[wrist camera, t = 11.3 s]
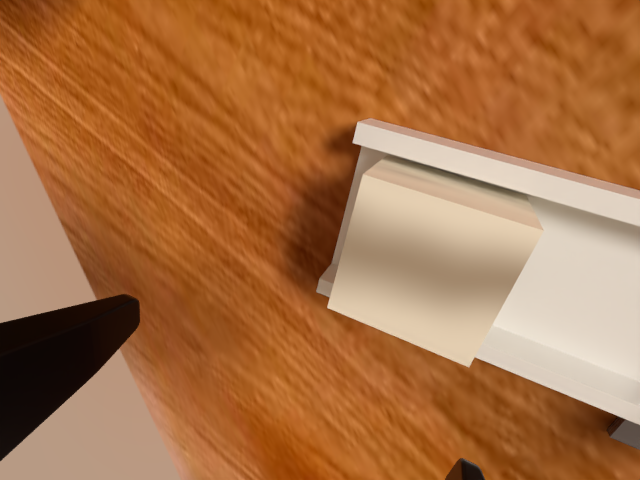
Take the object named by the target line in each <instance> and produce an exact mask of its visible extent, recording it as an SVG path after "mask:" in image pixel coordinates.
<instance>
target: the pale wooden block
mask: <svg viewBox="0 0 640 480" xmlns="http://www.w3.org/2000/svg"><path fill="white" fill-rule="evenodd" d="M543 231H544V230H543V228H542V226H541V224H540V222H539V220H538V218H537V216H536V214H535V212H534V210H533V208H532V206H531V204H530V202H529V200H528V198H527V196H526V195H523V194H520V193H516V192H513V191H510V190H506V189H503V188H499V187H496V186H492V185H489V184H486V183H482V182H479V181H475V180H472V179H468V178H465V177H462V176H458V175H455V174H451V173H448V172H445V171H441V170H438V169H434V168H431V167H427V166H424V165H421V164H417V163H414V162H410V161H407V160H403V159H400V158H397V157H393V156H390V155H387V156H386V157H384V158H383V159H382V160H381V161H379V162H378V163H377V164H375V165H374V166H373V167H372V168H370V169H369V170H368V171H366V172H365V173H364V174H363V176H362V179H361V183H360V187H359V191H358V194H357V198H356V202H355V206H354V209H353V213H352V217H351V221H350V224H349V228H348V232H347V236H346V239H345V243H344V247H343V251H342V254H341V258H340V262H339V266H338V269H337V273H336V277H335V280H334V284H333V288H332V292H331V295H330V299H329V303H328V307H327V308H329V309H331V310H334V311H336V312H338V313H341V314H343V315H346V316H348V317H350V318H353V319H355V320H357V321H360V322H362V323H365V324H367V325H369V326H372V327H374V328H377V329H379V330H381V331H384V332H386V333H388V334H391V335H393V336H396V337H398V338H400V339H403V340H405V341H408V342H410V343H412V344H415V345H417V346H419V347H422V348H424V349H427V350H429V351H431V352H434V353H436V354H438V355H441V356H443V357H446V358H448V359H450V360H453V361H455V362H458V363H460V364H462V365H465V366H467V367H469V366H470V365H471V363H472V361H473V359H474V357H475V355H476V354H477V352H478V350H479V348H480V346H481V345H482V343H483V341H484V339H485V337H486V335H487V334H488V332H489V330H490V328H491V326H492V324H493V323H494V321H495V319H496V317H497V315H498V314H499V312H500V310H501V308H502V306H503V304H504V303H505V301H506V299H507V297H508V295H509V293H510V292H511V290H512V288H513V286H514V284H515V283H516V281H517V279H518V277H519V275H520V273H521V272H522V270H523V268H524V266H525V264H526V262H527V261H528V259H529V257H530V255H531V253H532V252H533V250H534V248H535V246H536V244H537V242H538V241H539V239H540V237H541V235H542V233H543Z"/></svg>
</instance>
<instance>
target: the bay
mask: <svg viewBox="0 0 640 480" xmlns="http://www.w3.org/2000/svg"><path fill="white" fill-rule="evenodd" d="M353 143H354V144H358V145H361V146H362V147H361V151H360V155H359V158H358V162H357V166H356V170H355V174H354V178H353V182H352V186H351V190H350V194H349V197H348V201H347V205H346V209H345V213H344V217H343V221H342V225H341V229H340V233H339V237H338V240H337V244H336V248H335V252H334V256H333V260H332V263H331V265H330V266H329V267H328V268H327V270H326V271H325V272H324V273H323V275H322V276H321V277H320V278H319V283H318V287H317V291H316V292H318V293H320V294H322V295H325V296H327V297H330V295H331V292H332V288H333V284H334V280H335V277H336V273H337V269H338V266H339V262H340V258H341V254H342V251H343V247H344V243H345V239H346V236H347V232H348V228H349V224H350V221H351V217H352V213H353V209H354V206H355V202H356V198H357V194H358V191H359V187H360V183H361V179H362V176H363V174H364V173H365V172H366V171H368V170H369V169H370V168H372V167H373V166H374V165H375V164H377V163H378V162H379V161H381V160H382V159H383V158H384V157H386V156H387V155H390V156H393V157H397V158H400V159H403V160H407V161H410V162H414V163H417V164H421V165H424V166H427V167H431V168H434V169H438V170H441V171H445V172H448V173H451V174H455V175H458V176H462V177H465V178H468V179H472V180H475V181H479V182H482V183H486V184H489V185H492V186H496V187H499V188H503V189H506V190H510V191H513V192H516V193H520V194H523V195H526V196H527V198H528V200H529V202H530V204H531V206H532V208H533V210H534V212H535V214H536V216H537V218H538V220H539V222H540V224H541V226H542V228H543V230H544V231H543V233H542V235H541V237H540V239H539V241H538V242H537V244H536V246H535V248H534V250H533V252H532V253H531V255H530V257H529V259H528V261H527V262H526V264H525V266H524V268H523V270H522V272H521V273H520V275H519V277H518V279H517V281H516V283H515V284H514V286H513V288H512V290H511V292H510V293H509V295H508V297H507V299H506V301H505V303H504V304H503V306H502V308H501V310H500V312H499V314H498V315H497V317H496V319H495V321H494V323H493V324H492V326H491V328H490V330H489V332H488V334H487V335H486V337H485V339H484V341H483V343H482V345H481V346H480V348H479V350H478V352H477V354H476V355H475V357H476V358H478V359H480V360H483V361H485V362H488V363H490V364H493V365H495V366H497V367H500V368H502V369H505V370H507V371H510V372H512V373H515V374H517V375H519V376H522V377H524V378H527V379H529V380H532V381H534V382H536V383H539V384H541V385H544V386H546V387H549V388H551V389H553V390H556V391H558V392H561V393H563V394H566V395H568V396H570V397H573V398H575V399H578V400H580V401H583V402H585V403H587V404H590V405H592V406H595V407H597V408H600V409H602V410H605V411H607V412H609V413H612V414H614V415H617V416H619V417H622V418H624V419H626V420H629V421H631V422H634V423H636V424H639V425H640V191H639V190H636V189H632V188H628V187H624V186H621V185H617V184H613V183H610V182H606V181H602V180H598V179H595V178H591V177H587V176H584V175H580V174H576V173H572V172H569V171H565V170H561V169H558V168H554V167H550V166H546V165H543V164H539V163H535V162H532V161H528V160H524V159H520V158H517V157H513V156H509V155H506V154H502V153H498V152H494V151H491V150H487V149H483V148H480V147H476V146H472V145H468V144H465V143H461V142H457V141H454V140H450V139H446V138H442V137H439V136H435V135H431V134H428V133H424V132H420V131H416V130H413V129H409V128H405V127H402V126H398V125H394V124H390V123H387V122H383V121H379V120H376V119H372V118H369V119H366V120H363V121H359V122H357V126H356V131H355V135H354V139H353Z"/></svg>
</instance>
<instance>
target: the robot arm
mask: <svg viewBox="0 0 640 480" xmlns="http://www.w3.org/2000/svg"><path fill="white" fill-rule="evenodd" d="M139 323H140V305H139V301H138V300H137V299H136V298H134V297H132V296H130V295H127V294H122V295H117V296H113V297H109V298H105V299H100V300H96V301H92V302H88V303H84V304H79V305H75V306H71V307H67V308H62V309H58V310H54V311H50V312H45V313H41V314H37V315H33V316H28V317H24V318H20V319H16V320H11V321H8V322H3V323H0V461H1V460H2V459H3V458H4V457H5V456H7V455H8V454H9V453H10V452H11V451H12V450H13V449H14V448H15V447H16V446H17V445H19V444H20V443H21V442H22V441H23V440H24V439H25V438H26V437H27V436H28V435H29V434H31V433H32V432H33V431H34V430H35V429H36V428H37V427H38V426H39V425H40V424H41V423H43V422H44V421H45V420H46V419H47V418H48V417H49V416H50V415H51V414H52V413H53V412H55V411H56V410H57V409H58V408H59V407H60V406H61V405H62V404H63V403H64V402H65V401H66V400H68V399H69V398H70V397H71V396H72V395H73V394H74V393H75V392H76V391H77V390H79V389H80V388H81V387H82V386H83V385H84V384H85V383H86V382H87V381H88V380H89V379H90V378H91V377H93V375H94V374H96V373H97V372H98V371H99V370H100V368H101V367H102V366H103V365H104V364H105V363H106V362H107V361H108V360H109V359H110V358H111V357H112V355H113V354H114V353H115V352H116V351H117V350H118V349H119V348H120V347H121V346H122V345H123V343H124V342H125V341H126V340H127V339H128V338H129V337H130V336H131V335H132V334H133V332H134V331H135V330H136V329H137V327H138V325H139ZM445 480H485V478H484V476H483V473H482V471H481V469H480V468H479V467H478V466H477V465H476V464H474V463H472V462H470V461H467V460H465V459H463V458H460V459H459V460H458V461H457V462H456V464H455V465H454V466H453V468H452V469H451V471H450V472H449V474H448V475H447V476H446V478H445Z"/></svg>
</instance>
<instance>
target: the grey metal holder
mask: <svg viewBox="0 0 640 480" xmlns="http://www.w3.org/2000/svg"><path fill="white" fill-rule="evenodd" d="M607 431H608V434H609V436H610V437H611V438H613V439H616V440H618V441H620V442H623V443H625V444H627V445H630V446H632V447H634V448H637V449H639V450H640V425H639V424H636V423H634V422H631V421H629V420H626V419H624V418H622V417H618V418H617V419H616V420H615V421H614V422H613V423H612V425H611V426H610V427H609V428H608V429H607Z"/></svg>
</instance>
